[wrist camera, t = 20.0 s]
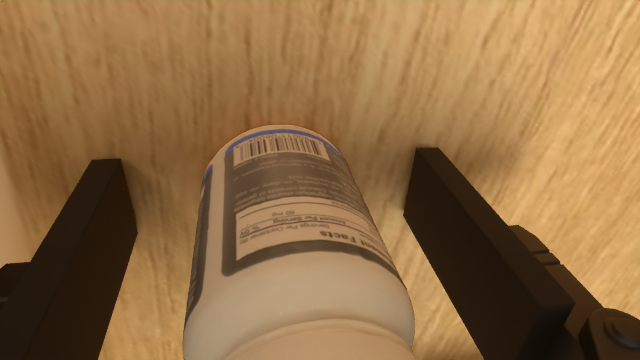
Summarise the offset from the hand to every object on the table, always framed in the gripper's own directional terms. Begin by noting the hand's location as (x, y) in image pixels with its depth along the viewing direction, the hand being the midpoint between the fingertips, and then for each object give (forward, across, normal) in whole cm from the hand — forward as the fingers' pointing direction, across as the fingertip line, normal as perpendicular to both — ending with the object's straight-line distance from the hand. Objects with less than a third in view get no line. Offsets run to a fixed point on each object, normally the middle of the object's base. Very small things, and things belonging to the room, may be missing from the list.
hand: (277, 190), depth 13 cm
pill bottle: (0, 0, 0) cm, 0 cm away
